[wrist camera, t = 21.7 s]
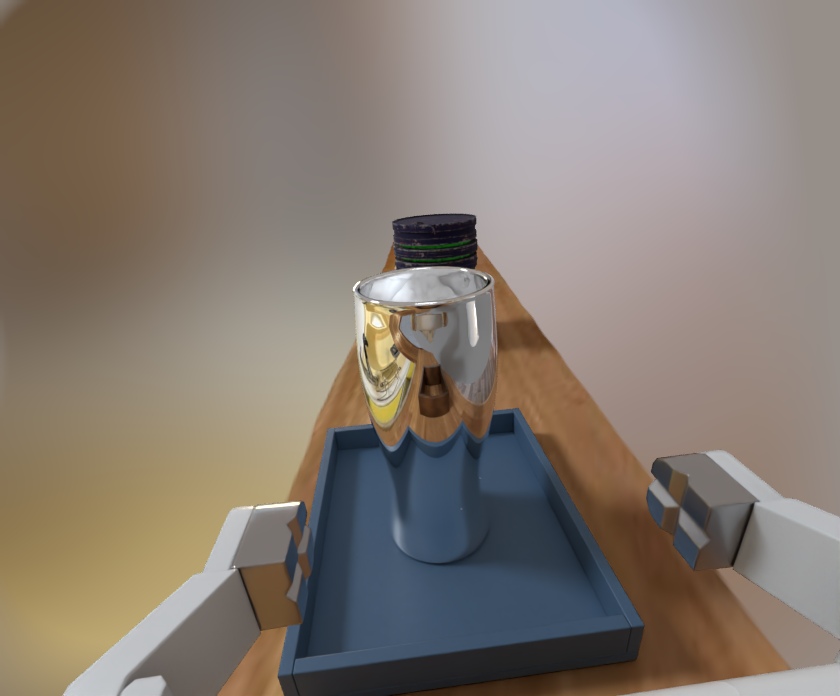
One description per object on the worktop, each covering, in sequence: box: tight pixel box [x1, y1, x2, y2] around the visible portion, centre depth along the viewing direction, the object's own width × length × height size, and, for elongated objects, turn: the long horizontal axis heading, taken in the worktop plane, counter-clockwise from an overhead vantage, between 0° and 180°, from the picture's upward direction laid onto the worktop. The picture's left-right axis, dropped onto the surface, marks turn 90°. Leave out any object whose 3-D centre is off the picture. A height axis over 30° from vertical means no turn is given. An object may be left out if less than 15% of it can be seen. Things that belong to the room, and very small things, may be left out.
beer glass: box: [353, 266, 498, 564], centre depth 22 cm, size 7×7×15 cm
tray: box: [278, 408, 644, 696], centre depth 25 cm, size 15×17×2 cm
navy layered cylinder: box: [392, 214, 477, 270], centre depth 50 cm, size 10×10×15 cm
